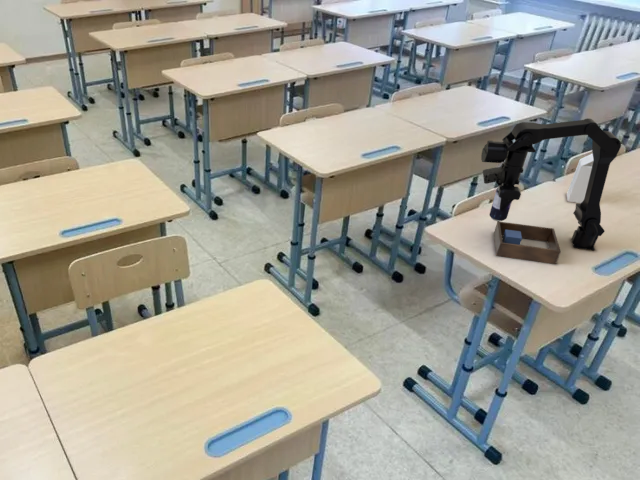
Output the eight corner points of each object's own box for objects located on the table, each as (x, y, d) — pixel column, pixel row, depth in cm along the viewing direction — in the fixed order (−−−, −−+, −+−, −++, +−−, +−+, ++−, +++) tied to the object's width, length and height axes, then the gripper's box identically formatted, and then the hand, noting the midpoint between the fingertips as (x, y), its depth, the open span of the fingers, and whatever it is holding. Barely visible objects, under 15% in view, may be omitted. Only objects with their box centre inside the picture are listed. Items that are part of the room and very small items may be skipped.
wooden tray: (549, 240, 196) (554, 228, 192) (555, 264, 184) (560, 251, 181) (493, 233, 200) (497, 221, 197) (496, 255, 188) (500, 243, 185)
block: (516, 243, 194) (520, 231, 191) (517, 250, 190) (522, 238, 187) (501, 241, 195) (505, 229, 192) (502, 248, 192) (506, 236, 188)
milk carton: (567, 201, 219) (585, 156, 207) (566, 194, 224) (583, 149, 212) (587, 204, 217) (606, 159, 205) (585, 197, 222) (604, 152, 210)
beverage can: (507, 223, 189) (517, 191, 181) (489, 221, 190) (499, 190, 182) (504, 215, 193) (514, 183, 186) (487, 213, 194) (496, 182, 187)
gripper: (486, 149, 188) (474, 191, 198) (489, 171, 174) (476, 215, 183) (521, 153, 186) (507, 195, 195) (527, 176, 171) (512, 220, 181)
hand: (500, 206), depth 189 cm, fingers closed on beverage can, 6 cm apart
